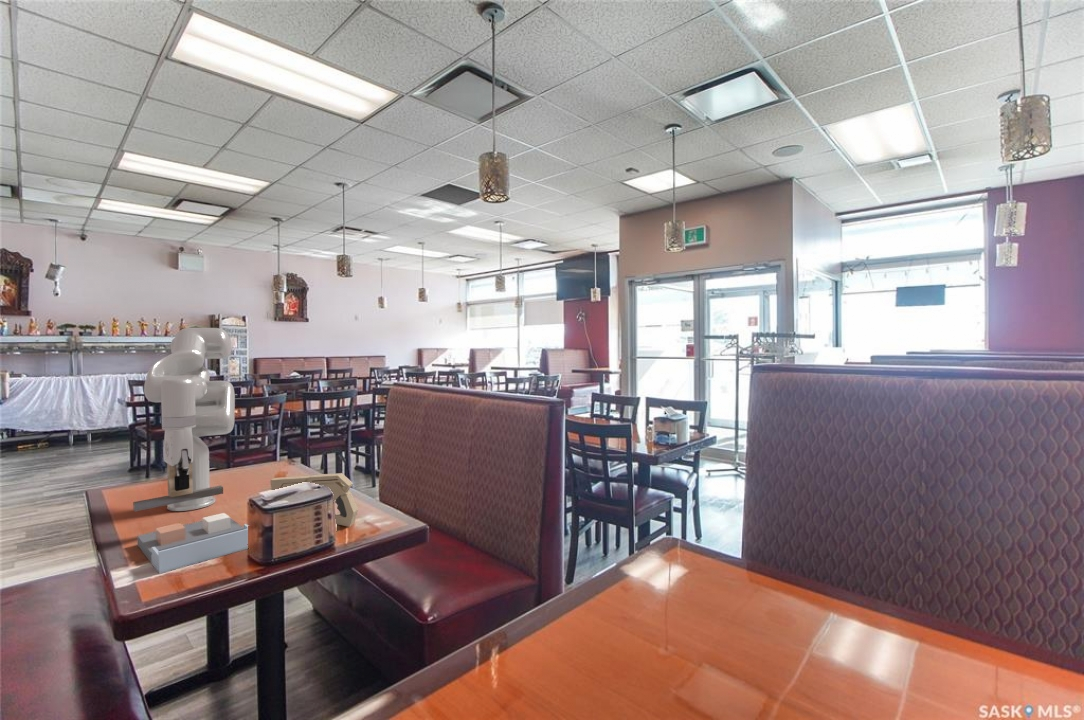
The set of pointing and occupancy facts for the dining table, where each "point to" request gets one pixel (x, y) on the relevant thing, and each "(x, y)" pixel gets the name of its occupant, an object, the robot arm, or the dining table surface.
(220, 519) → the tile cream
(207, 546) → the box
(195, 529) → the board
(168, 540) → the tile terracotta
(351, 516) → the gun
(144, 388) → the robot arm
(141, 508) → the scraper
